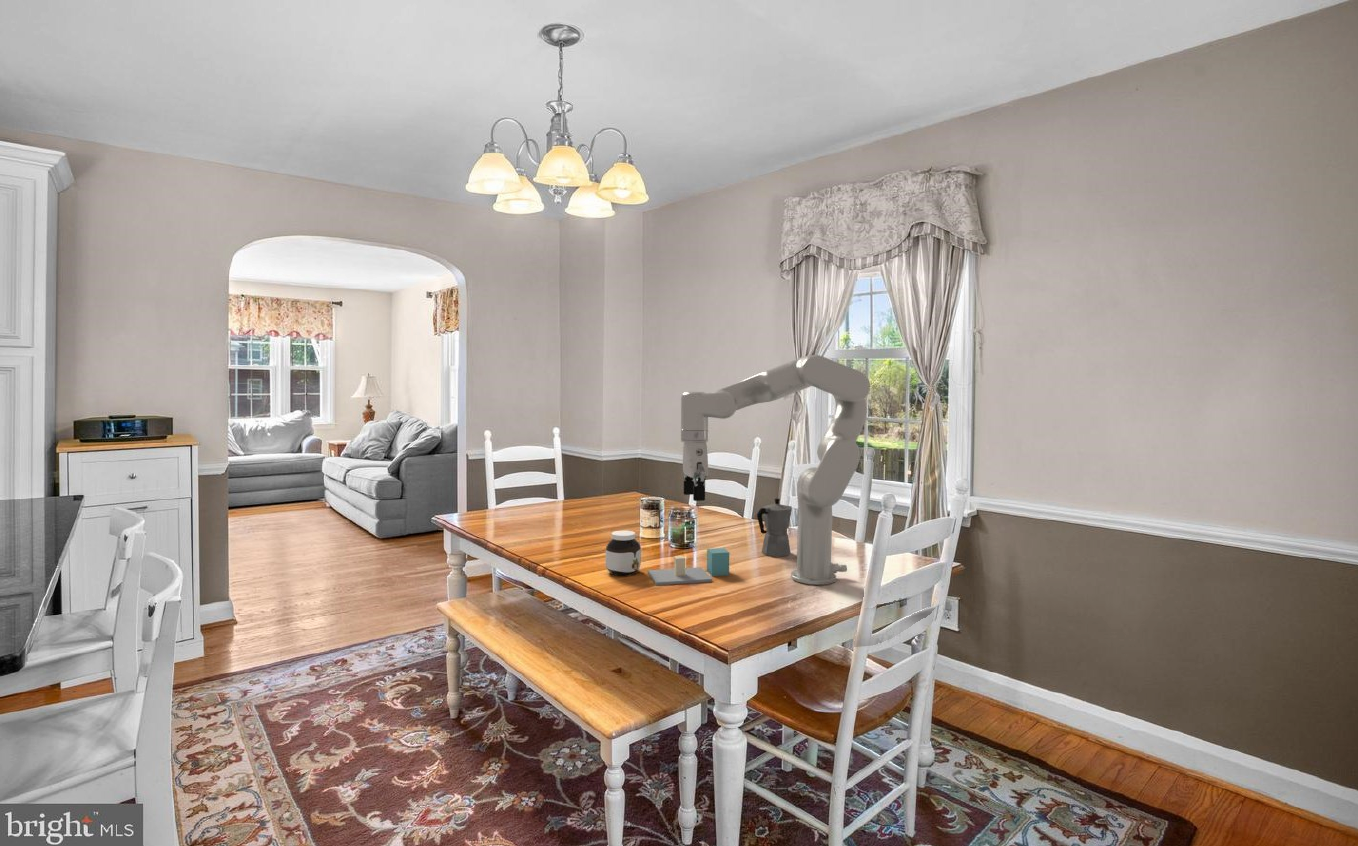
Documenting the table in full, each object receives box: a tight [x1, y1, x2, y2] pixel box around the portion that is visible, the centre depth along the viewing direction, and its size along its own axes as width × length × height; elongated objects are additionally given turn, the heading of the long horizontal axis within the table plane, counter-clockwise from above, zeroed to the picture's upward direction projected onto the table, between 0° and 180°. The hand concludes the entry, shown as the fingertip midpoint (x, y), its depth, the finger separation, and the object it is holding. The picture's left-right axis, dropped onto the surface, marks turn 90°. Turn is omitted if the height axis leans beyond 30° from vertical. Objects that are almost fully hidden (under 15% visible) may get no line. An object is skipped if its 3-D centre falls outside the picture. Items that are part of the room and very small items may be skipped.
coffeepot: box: [756, 497, 793, 558], centre depth 226 cm, size 15×9×18 cm, turn 129°
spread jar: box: [604, 530, 642, 577], centre depth 205 cm, size 12×11×12 cm
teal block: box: [706, 547, 730, 577], centre depth 204 cm, size 5×5×7 cm
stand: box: [647, 555, 713, 586], centre depth 199 cm, size 16×12×6 cm
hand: (694, 497), depth 196 cm, fingers open, 9 cm apart
